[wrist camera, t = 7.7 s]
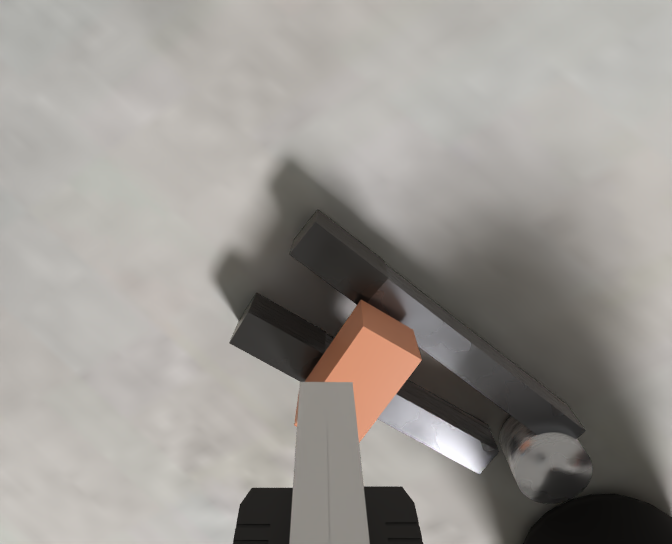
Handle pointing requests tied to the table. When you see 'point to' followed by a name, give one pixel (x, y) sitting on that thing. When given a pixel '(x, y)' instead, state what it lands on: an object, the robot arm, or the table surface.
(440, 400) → the tongs fixed arm
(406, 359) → the orange rectangular block
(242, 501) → the robot arm
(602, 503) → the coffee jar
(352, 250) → the grey long bar
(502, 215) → the table surface
